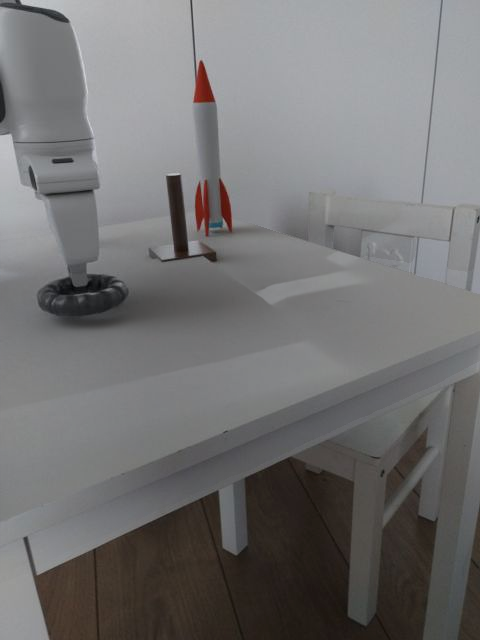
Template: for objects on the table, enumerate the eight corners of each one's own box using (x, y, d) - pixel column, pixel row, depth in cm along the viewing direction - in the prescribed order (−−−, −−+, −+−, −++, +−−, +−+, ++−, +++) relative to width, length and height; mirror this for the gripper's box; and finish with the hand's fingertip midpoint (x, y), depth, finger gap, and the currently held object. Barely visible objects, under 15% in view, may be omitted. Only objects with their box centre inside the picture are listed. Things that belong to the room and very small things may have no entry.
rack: (163, 269, 90) (152, 180, 84) (149, 256, 97) (138, 174, 91) (216, 260, 93) (210, 174, 87) (199, 248, 100) (192, 168, 95)
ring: (43, 325, 63) (39, 305, 62) (36, 297, 72) (33, 279, 71) (136, 310, 67) (134, 290, 66) (119, 284, 75) (117, 267, 74)
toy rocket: (233, 232, 110) (223, 58, 98) (206, 236, 108) (192, 59, 95) (222, 227, 115) (211, 60, 102) (196, 231, 113) (181, 61, 100)
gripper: (24, 159, 73) (44, 263, 79) (36, 179, 56) (60, 310, 62) (75, 155, 76) (91, 257, 81) (101, 174, 59) (118, 301, 64)
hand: (78, 280), depth 72 cm, fingers closed on ring, 2 cm apart
